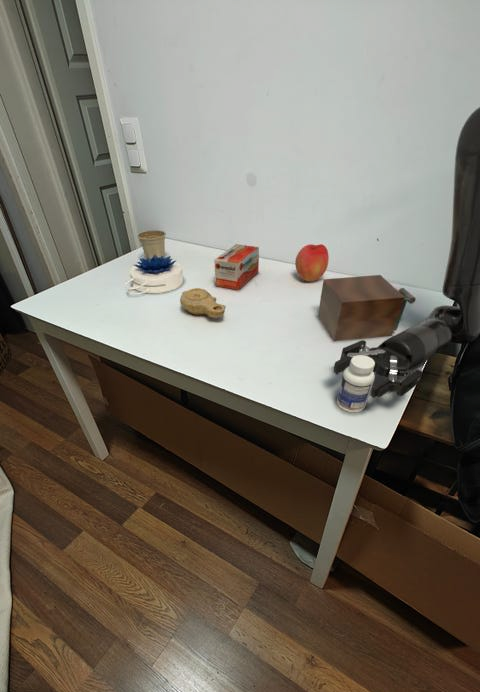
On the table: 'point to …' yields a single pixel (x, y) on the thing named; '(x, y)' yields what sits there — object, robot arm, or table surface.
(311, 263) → the apple
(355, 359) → the pill bottle
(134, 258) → the table surface
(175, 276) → the lotus flower trinket box
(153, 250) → the flower pot
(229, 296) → the table surface
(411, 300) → the drawer
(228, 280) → the medicine box
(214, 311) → the oil lamp
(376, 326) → the cabinet
